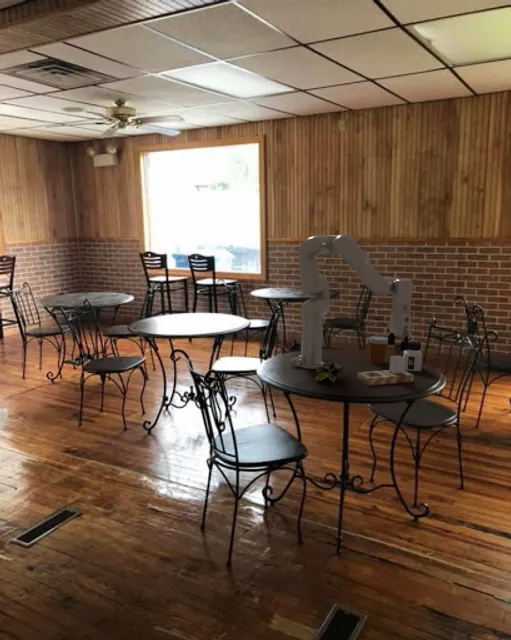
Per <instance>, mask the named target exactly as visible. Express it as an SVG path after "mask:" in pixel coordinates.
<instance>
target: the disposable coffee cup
mask: <svg viewBox="0 0 511 640" xmlns="http://www.w3.org/2000/svg"><path fill="white" fill-rule="evenodd" d="M368 343H369V357H370V358H369V359H370V363H373V364H378V365H380V364H384V362H385V358H386V354H387V353H386V352H387V348H388V336H387V337H386V336H382V335H373V336H372V335H371V336H369V339H368Z"/></svg>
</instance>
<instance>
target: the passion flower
mask: <svg viewBox="0 0 511 640" xmlns="http://www.w3.org/2000/svg"><path fill="white" fill-rule="evenodd" d="M325 361H326V362H323V363H322V366H321V367H318V369H316V371H315V374H317V375H316V377H315V379H314V380H315V382H318V381H319V382H320V381H323V380H324V379H326V378H328V380H329V381H331V382H332V384H331V385H334V384H335V381H336V379H337V378H338V376H339V375H340V374H344V373H345V372H344V370H345V366H344V365H342V364H341V363H339V362H337V361H336V360H334V359H329V360H328V359H326V360H325Z"/></svg>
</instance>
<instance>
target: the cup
mask: <svg viewBox="0 0 511 640" xmlns="http://www.w3.org/2000/svg"><path fill="white" fill-rule="evenodd" d="M400 346H401V343H400V344H399V343H395V344H394V345H393V347H394V356H401V357H403V354H404V351H401V350H400Z"/></svg>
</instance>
